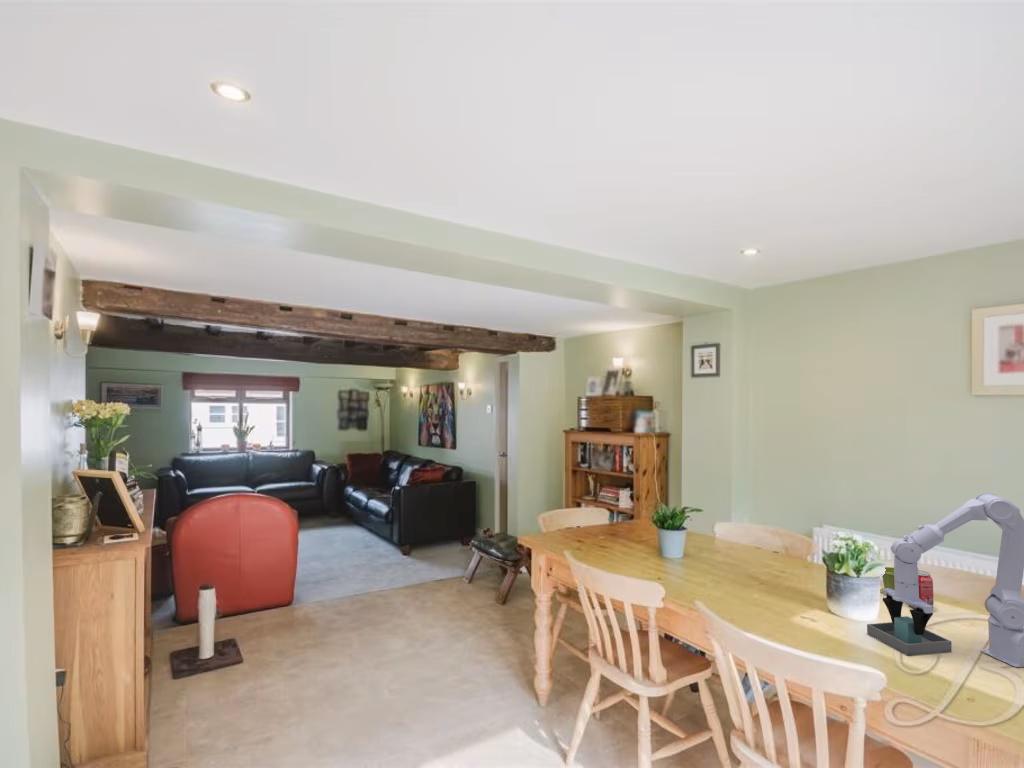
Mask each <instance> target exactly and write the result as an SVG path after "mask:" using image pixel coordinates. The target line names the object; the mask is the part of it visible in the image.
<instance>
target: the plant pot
mask: <svg viewBox="0 0 1024 768" xmlns="http://www.w3.org/2000/svg"><path fill="white" fill-rule="evenodd" d="M884 567H885V569H886V571H885V574H884V575H883V576H882V575H881V578H882V581H883V589H886V588H889V589H892V590H895V586H894V566H891V567H890V566H884Z"/></svg>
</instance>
